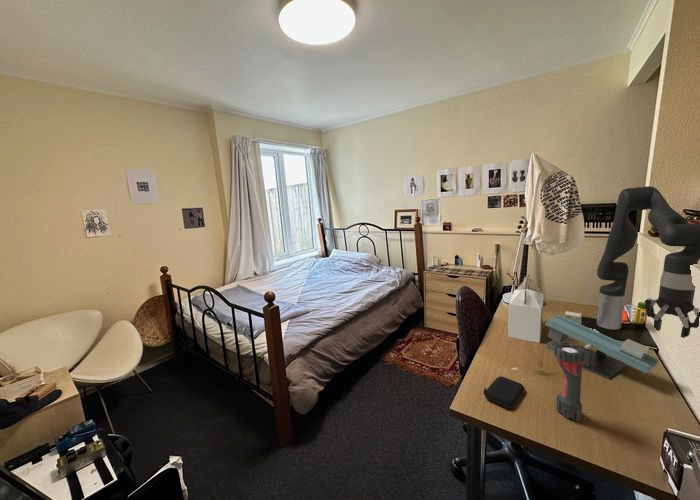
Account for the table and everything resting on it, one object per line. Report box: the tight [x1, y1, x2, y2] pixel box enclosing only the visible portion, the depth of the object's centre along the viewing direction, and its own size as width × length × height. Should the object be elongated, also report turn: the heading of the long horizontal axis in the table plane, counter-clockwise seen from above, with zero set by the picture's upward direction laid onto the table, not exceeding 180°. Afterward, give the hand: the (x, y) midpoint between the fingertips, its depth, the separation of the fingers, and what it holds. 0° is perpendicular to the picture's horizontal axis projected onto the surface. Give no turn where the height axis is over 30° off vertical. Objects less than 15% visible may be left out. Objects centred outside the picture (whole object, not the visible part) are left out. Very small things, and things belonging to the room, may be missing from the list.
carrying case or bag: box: [483, 376, 526, 409], centre depth 104 cm, size 11×3×15 cm
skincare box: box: [563, 311, 583, 341], centre depth 136 cm, size 6×4×12 cm
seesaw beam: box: [545, 314, 660, 374], centre depth 117 cm, size 14×34×9 cm, turn 27°
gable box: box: [507, 274, 545, 344], centre depth 145 cm, size 22×13×28 cm, turn 144°
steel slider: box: [620, 338, 650, 362], centre depth 106 cm, size 5×6×5 cm
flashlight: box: [553, 341, 585, 423], centre depth 92 cm, size 8×8×23 cm
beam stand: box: [546, 339, 628, 380], centre depth 121 cm, size 15×24×8 cm, turn 27°
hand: (670, 333), depth 96 cm, fingers open, 5 cm apart
